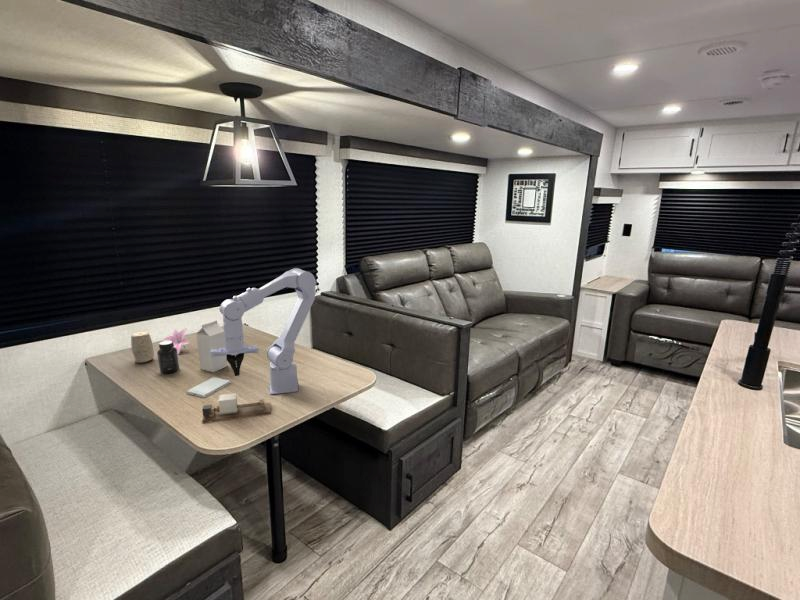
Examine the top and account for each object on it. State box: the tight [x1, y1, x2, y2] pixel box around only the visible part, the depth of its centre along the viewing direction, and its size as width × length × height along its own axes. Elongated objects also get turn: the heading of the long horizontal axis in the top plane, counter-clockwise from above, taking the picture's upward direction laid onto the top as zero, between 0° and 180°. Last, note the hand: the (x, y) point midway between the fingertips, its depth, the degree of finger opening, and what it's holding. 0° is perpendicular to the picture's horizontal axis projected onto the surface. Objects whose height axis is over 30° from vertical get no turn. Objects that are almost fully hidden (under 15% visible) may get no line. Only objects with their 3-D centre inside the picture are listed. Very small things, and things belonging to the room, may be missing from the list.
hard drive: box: [185, 376, 231, 399], centre depth 149 cm, size 2×8×12 cm
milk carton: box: [196, 319, 228, 373], centre depth 164 cm, size 7×7×19 cm
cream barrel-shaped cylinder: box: [130, 331, 155, 364], centre depth 170 cm, size 6×8×12 cm
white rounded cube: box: [218, 392, 238, 415], centre depth 131 cm, size 5×4×5 cm
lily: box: [162, 327, 190, 355], centre depth 183 cm, size 12×12×10 cm
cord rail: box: [201, 399, 272, 423], centre depth 132 cm, size 20×6×4 cm, turn 108°
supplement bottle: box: [156, 340, 180, 375], centre depth 161 cm, size 7×7×12 cm
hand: (237, 374), depth 139 cm, fingers closed
